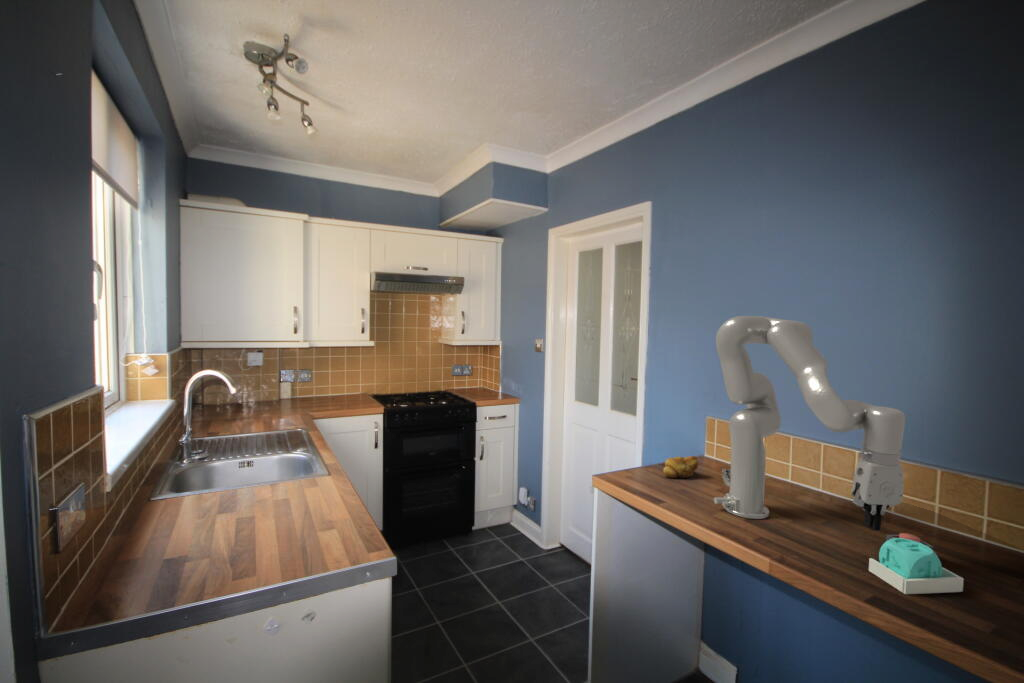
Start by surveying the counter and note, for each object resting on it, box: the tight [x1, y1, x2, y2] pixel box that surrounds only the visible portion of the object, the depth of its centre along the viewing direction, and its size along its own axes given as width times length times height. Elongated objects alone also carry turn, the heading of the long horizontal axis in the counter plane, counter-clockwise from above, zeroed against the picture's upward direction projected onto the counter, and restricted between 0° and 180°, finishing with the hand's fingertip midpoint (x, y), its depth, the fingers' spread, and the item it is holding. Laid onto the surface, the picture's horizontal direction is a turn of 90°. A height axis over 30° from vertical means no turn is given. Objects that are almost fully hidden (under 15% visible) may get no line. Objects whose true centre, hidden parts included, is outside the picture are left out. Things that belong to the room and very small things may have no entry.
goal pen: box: [868, 557, 964, 595], centre depth 106 cm, size 14×9×3 cm
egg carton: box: [721, 467, 730, 488], centre depth 167 cm, size 11×8×4 cm
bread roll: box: [662, 455, 699, 479], centre depth 174 cm, size 13×10×8 cm
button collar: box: [885, 533, 934, 551], centre depth 117 cm, size 6×6×4 cm
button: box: [898, 532, 921, 543], centre depth 117 cm, size 4×4×4 cm
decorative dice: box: [878, 538, 943, 579], centre depth 106 cm, size 8×8×8 cm
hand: (871, 527), depth 117 cm, fingers closed
